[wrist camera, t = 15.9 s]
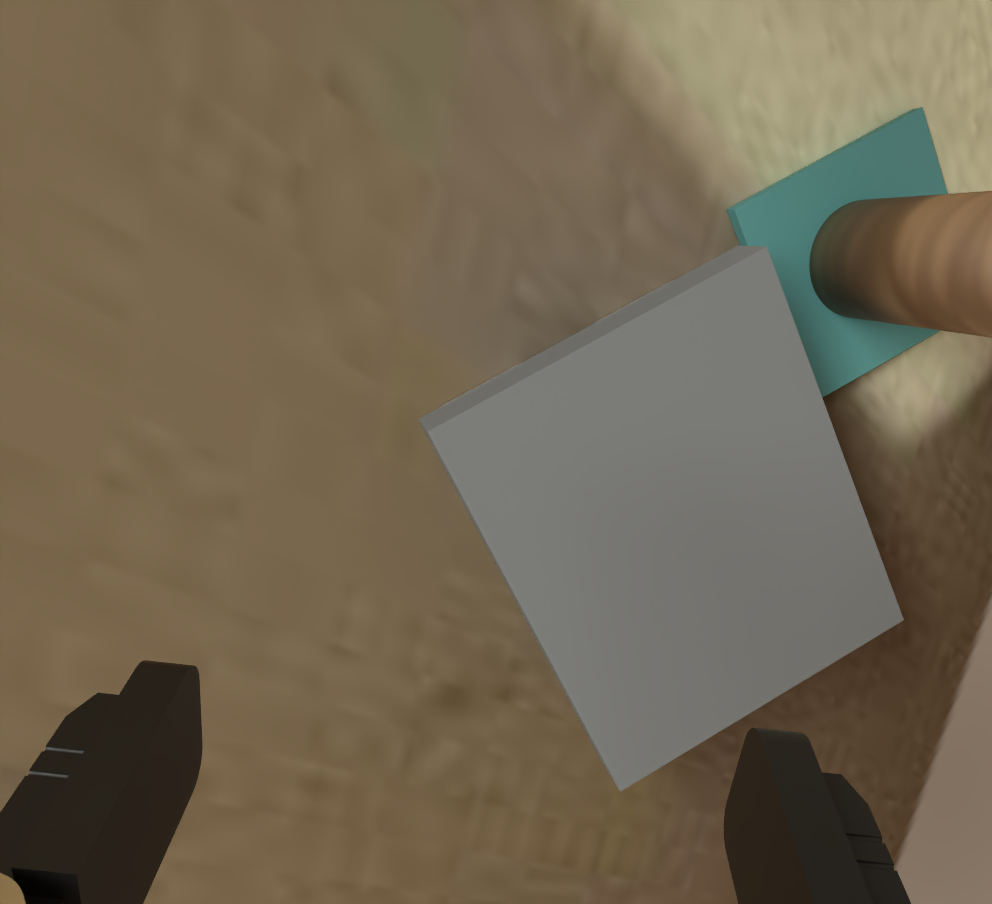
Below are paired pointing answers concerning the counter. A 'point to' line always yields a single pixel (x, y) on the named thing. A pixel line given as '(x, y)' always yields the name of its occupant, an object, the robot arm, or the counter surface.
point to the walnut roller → (909, 261)
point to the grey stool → (671, 511)
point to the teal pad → (801, 212)
